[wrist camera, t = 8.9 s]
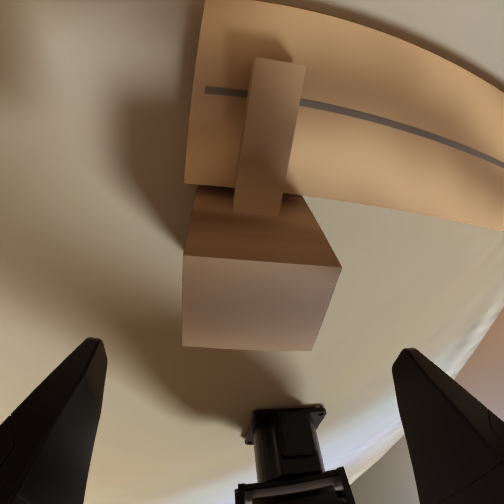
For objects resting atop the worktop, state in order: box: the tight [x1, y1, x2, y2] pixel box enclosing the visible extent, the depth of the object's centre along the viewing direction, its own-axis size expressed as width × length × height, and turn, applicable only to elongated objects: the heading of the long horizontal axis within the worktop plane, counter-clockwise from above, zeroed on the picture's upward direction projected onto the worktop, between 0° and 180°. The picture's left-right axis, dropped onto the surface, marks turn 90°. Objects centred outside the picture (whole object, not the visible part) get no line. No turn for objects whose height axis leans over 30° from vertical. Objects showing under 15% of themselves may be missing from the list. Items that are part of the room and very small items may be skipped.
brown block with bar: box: [182, 57, 342, 351], centre depth 12 cm, size 10×5×6 cm, turn 172°
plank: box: [184, 0, 504, 231], centre depth 13 cm, size 8×20×1 cm, turn 82°
